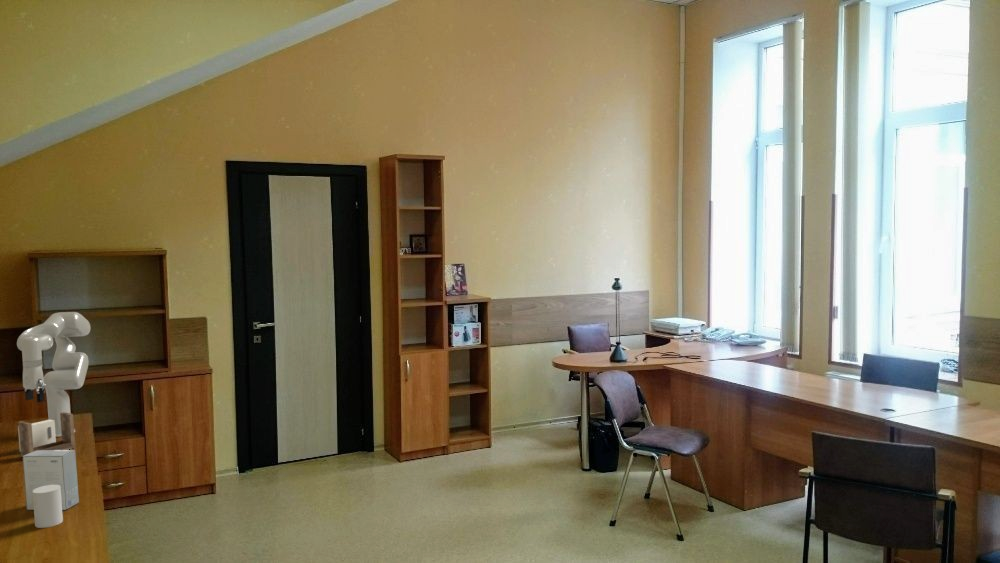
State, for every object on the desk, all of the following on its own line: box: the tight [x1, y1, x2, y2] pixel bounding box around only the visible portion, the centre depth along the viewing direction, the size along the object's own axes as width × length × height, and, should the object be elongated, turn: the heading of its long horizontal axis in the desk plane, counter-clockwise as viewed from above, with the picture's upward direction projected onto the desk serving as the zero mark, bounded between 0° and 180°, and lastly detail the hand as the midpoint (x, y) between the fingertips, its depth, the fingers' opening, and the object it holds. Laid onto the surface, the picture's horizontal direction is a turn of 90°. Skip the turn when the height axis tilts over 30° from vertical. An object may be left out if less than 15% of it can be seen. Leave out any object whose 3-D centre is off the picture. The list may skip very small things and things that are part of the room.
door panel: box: [17, 419, 57, 453], centre depth 343 cm, size 4×14×12 cm, turn 148°
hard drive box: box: [22, 449, 80, 511], centre depth 269 cm, size 16×8×20 cm, turn 84°
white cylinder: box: [33, 485, 64, 529], centre depth 253 cm, size 8×8×12 cm
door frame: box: [18, 412, 76, 458], centre depth 336 cm, size 8×20×16 cm, turn 148°
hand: (35, 400), depth 342 cm, fingers open, 9 cm apart
